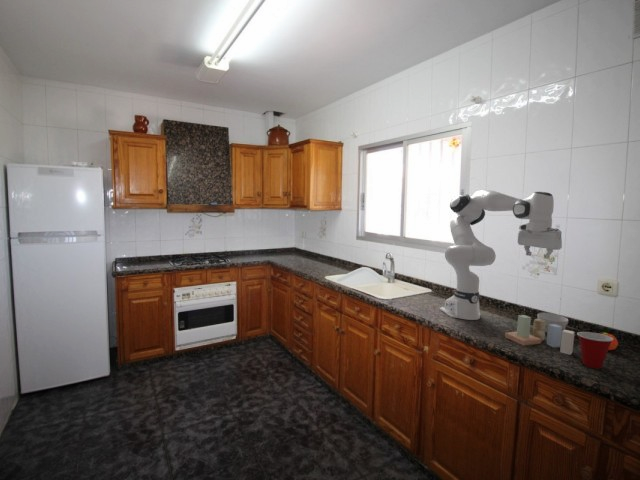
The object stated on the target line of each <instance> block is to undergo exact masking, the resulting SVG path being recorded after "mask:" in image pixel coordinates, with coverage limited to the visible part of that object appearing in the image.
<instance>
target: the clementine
mask: <svg viewBox="0 0 640 480" xmlns="http://www.w3.org/2000/svg"><path fill="white" fill-rule="evenodd" d="M598 334H601V332H600V333H598ZM602 334H603V335H607V336H610V337H612V338H613V340H612V342H611V344H610V346H609V349H608V351H613V350H615V349H617V347H618V345H619V342H618V339H617V337H615V336H614V335H613V334H611V333H608V332H602Z"/></svg>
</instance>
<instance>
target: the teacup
mask: <svg viewBox="0 0 640 480" xmlns="http://www.w3.org/2000/svg"><path fill="white" fill-rule="evenodd" d="M537 319H541V320H544V321H546V327H545V334H546V333H547V334H548V324H557V325H559V326H561V327H562V331H563V330H564V329H565V330H566V328H567V326H568V324H569V319H568V318H566V317H565V316H563V315H560V314H554V313H550V312H538V313H537Z"/></svg>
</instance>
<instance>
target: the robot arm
mask: <svg viewBox="0 0 640 480" xmlns="http://www.w3.org/2000/svg"><path fill="white" fill-rule="evenodd" d="M554 204H555V203H554V196H553V194H552V193H550V192H545V191H534V192H533V193H532V194H531V195H530V196H528V197H525V198H517V197H514V196H512V195H508V194H505V193H502V192H499V191H495V190H489V189H482V190H481V189H480V190H477V191H475V192H474V193H473V195H472V196H470V195H469V194H459V195H456V196H454V197H453V198H452V199H451V201H450V204H449V208H450V210H452V212H453V213H455V214H456V215H457V216H456V215H455V216H454V217H453V218H452V219H451V220H450V222H449V223H450V224H449V225H450V226H449V227H450V233H451V236H452V239H453V242H454V245H449V246H448V247H447V248H446V249H445V253H444V259H445V260H446V261H447V263H448V264H449V265H451V267H452V268H453V270H454V271H455V274H456V289H454V290H453V295H452V296H450V297H449V298H447V299H446V300H445V301H444V306H441V307H440V308H439V310H441V311H442V312H443V313H444V314H446V315H448V316H449V317H450V318H454V319H455V318H456V319H462V320H467V321H468V320H470V321H473V320H474V321H475V320H476V321H477V320H479V319H481V313H480V301H479V299H480V288H479V287H480V277H479V276H478V275H477V274H476V273H475V272H472V270H470V267H486V266H491V265H493V264H494V263H495V260H496V257H497V256H496V252H495V250H494V249H493V247H490V246H487V245H486V244H484V243H483V242H482V241H480V240H479V239H478V238H477V237H476V236H475V234H474V232H473V229H472V227H471V226H474V225H477V224H478V223H480V222H481V221H484V218H485V216H486V211H488V212H512V213H513V215H514V217H515V218H517V219H520V220H528V221H529V222H527V223H524V224H520V225H519V227H518V229H519V231H518V233H517V244H518V245H520V246H524V247H523V248H524V250H525V256H528V257H529V256H532V251H530V249H531V247H532V248H541V249H545V250H546V253H545V254H543V258H544V259H546V260H548V259H550V256H551V255H552V253H553V252H554V250H558V251H559V250H561V249H562V247H563V241H562V231H561V230H560V229H559V228H553V227H552V225H553V217H552V215H553V212H554V208H555V207H554V206H555V205H554Z"/></svg>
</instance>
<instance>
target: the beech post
mask: <svg viewBox="0 0 640 480" xmlns="http://www.w3.org/2000/svg"><path fill="white" fill-rule="evenodd" d="M545 327H546V321H544V320H541V319H538V318H535V319H533V325H532V335H533V336H535V337H537V338H540V339H541V342H543V341H545V338H546V336H545V335H546V332H545Z"/></svg>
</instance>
